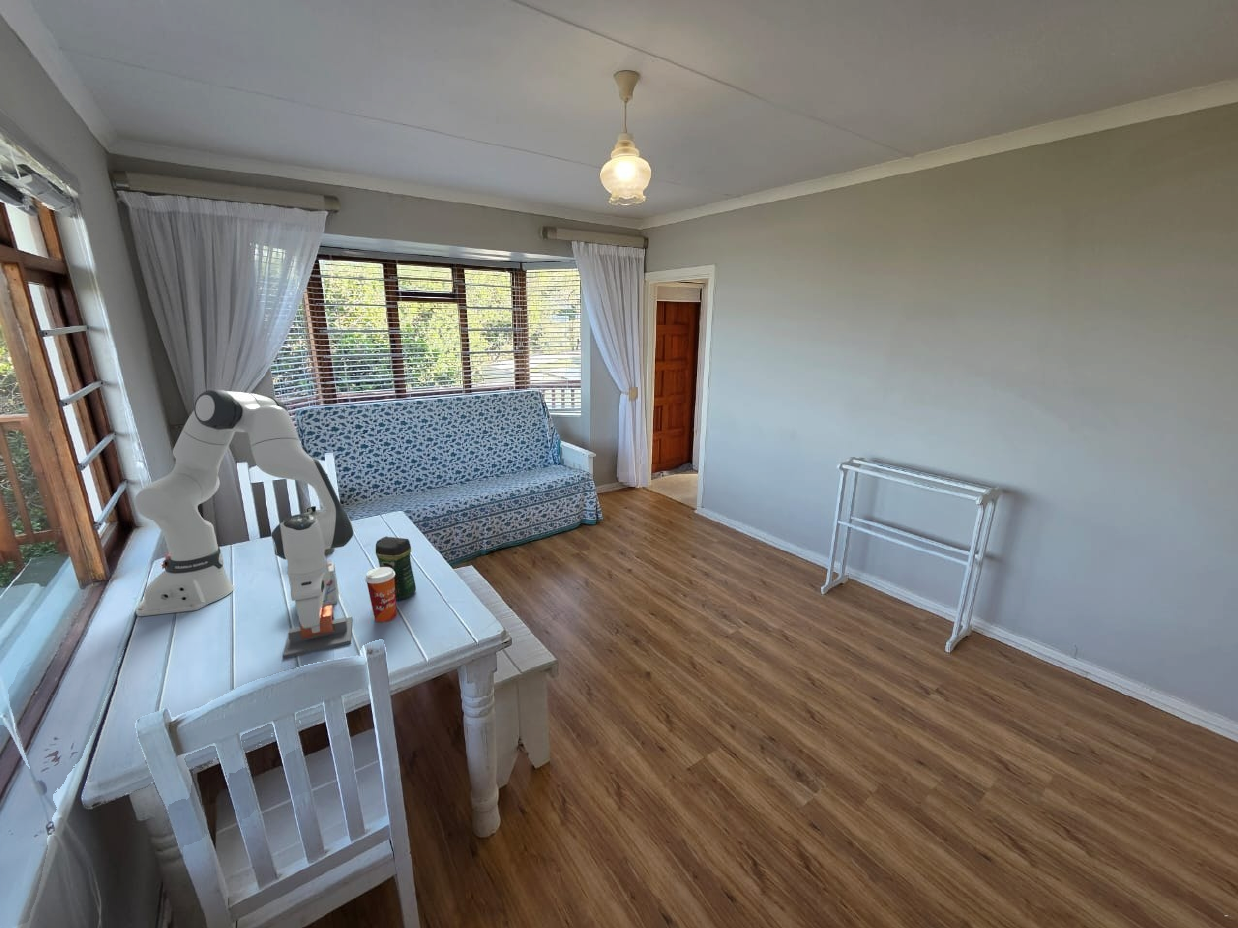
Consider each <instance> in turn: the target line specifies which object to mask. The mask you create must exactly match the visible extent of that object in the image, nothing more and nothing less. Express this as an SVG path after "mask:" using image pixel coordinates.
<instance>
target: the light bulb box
mask: <svg viewBox="0 0 1238 928" xmlns="http://www.w3.org/2000/svg"><path fill="white" fill-rule="evenodd" d="M328 568H329V574H330V581H329V582H328V583H327V584H326V586H325V588H326V590H325V596H324V601H323V607H325V606H330V605H335V604H336V605H337V604H338V603H339V595H340V592H339V587H338V586H339V585H338V579H337V573H336V571H337V570H336V567H335V562H334V561H333V562H329V563H328Z"/></svg>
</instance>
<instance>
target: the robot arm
mask: <svg viewBox="0 0 1238 928" xmlns="http://www.w3.org/2000/svg"><path fill="white" fill-rule="evenodd" d="M193 406H194V408H193V411H192V412H191V414H190V415H189V417H188V418H187V420H186V422H185V424H184V426H183V427H182V430H181V432H180V434H179V437H178V438H177V440H176V443H175V445H174V447H173V449H172V455H173V457H174V459H175V464H174V467H173V470H172V471H171V472H170V473H169V474H168V475H166V476H164V477H161V478H159V479H156V480H155V481H152V482H150V483H148V484H147V485H146V486H145V487H143V488H142V489H141V490H140V491H139V492H138V493H137V494H136V495H135V497H134V507H135V509H136V511H137V513H138V514H139V515H141V516H142V517H144V518H146V519H148V520H150V521H152V522H154V523H155V524H156V526H158V528H159V529H160V531H161V533H162V534H163V536H164V540H165V542H166V546H167V550H168V554H167V555H166V556H165V559H164V560H163V561H162V564H161V568H162V569H163V571H162V572H161V573H160V574H159V575H157V577H154V579H153V580H152V581H151V582H150V583H149V584H147V586H146V589H145V590H144V595H143V596H144V597H143V599H142V600H141V601H140V602H139V603H138V604H137V606H136V609H135V614H136V616H137V617H144V616H146V617H147V616H154V615H163V614H172V613H182V612H190V611H197V610H200V609H202V608H204V607H205V606H207V605H209V604H211V603H214V602H216V601H220V600H221V599H223V598H225V597H226V596H228V595H230V593H231V594H232V592H233V591H234V589H235V587H234V585H233V584H232V582H231V580H230V579H229V577H228V575H227V572H226V570H225V567H224V559H223V558H224V557H223V553H222V551H221V548H220V547H219V546H218V542H217V536H216V532H215V528H214V525H213V523H211V522H210V521H208V520H206V519H204V518H203V517H202V516H201V513H200V512H199V509H198V507H199V505H200V504H203V503H204V502H206V501H207V500H210V498H212V497H213V496H214V494H215V493H216V492H217V491H218V490H219V488H220V485H221V481H220V478H219V470H220V466H221V463H222V461H223V458H224V457H225V455H226V453H227V450H228V449H229V446H230V444H231V442H232V440H233V437H234V436H235V433H236V432H237V433H247V435H248V439H249V444H250V449H251V453H252V456H253V459H254V462H255V464H256V466H257V467H258V469H259V470H260V471H262V472H263V473H265V474H266V475H267V474H268V475H269V476H272V477H275V478H279V479H285V480H294V481H299V482H303V483H306V484H308V485H309V486H310V487H312V488H313V489H314V491H315V494H316V495H317V497H318V500H319V502H320V503H321V507H322V508H323V510H324V511H325V513H324V514H321V515H316V516H313V515H310V514H303V513H300V514H299V513H298V514H295V515H291V516H288V517H287V518H286V519H284V520H283V522H281V523H280V522H279V523H278V525H276V526H275V527H274V529H273V531H272V532H271V537H272V538H271V539H272V540H273V543H274V555H276V556H277V557H279V558H281V559H283V560H286V562H287V570H286V572H287V577H288V581H289V586H290V587H289V588H290V599H291V601H293V602H294V603H295V604H294V605H295V610H296V613H297V616H298V621H299V620H300V623H301V626H302V627H303V628H304V629H307V628H311V629H312V633H317V632H320V618H321V613H322V607H324V606H323V601H324V596H325V590H326V588H325V586H326V584H327V583H328V582H329V581H330V574H329V568H328V560H327V558H326V556H325V554H324V552H325V550H326V549H333V548H335V549H338V548H343V547H345V546H346V545H347V544H348V543H349V542H350V541H351V540H352V538H354V537H353V536H354V526H353V524H352V521H351V518H349V516H348V514H347V513H346V511H345V509H344V508H343V505H342V503H341V502H340V499H339V498H338V497H339V496H338V495H337V493H336V491H335V489H334V486H333V484H332V483H331V480H330V479H329V477H328V475H327V473H326V471H325V469H324V467H323V465H322V464H321V462H320V461H319V460H318V459H317V458H315V457H311V456H310V455H309V454H307V452H306V451H305V450H304V448H303V447H302V445H301V442H300V438H299V435H298V432H297V429H296V427H295V423H294V421H293V420H292V417H291V416H290V413H289V411H288V408H287V406H286V405H285V403H284V402H283V401H281V400H279V399H278V398H274V397H271V396H266V395H261V394H257V393H253V392H247V391H244V392H242V391H231V390H229V391H228V390H224V389H210V390H209V389H208V390H205V391H203V392H202V393H200V394H199V395H198V397H197V398H196V400H195V402H194V405H193Z"/></svg>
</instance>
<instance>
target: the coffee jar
mask: <svg viewBox="0 0 1238 928" xmlns="http://www.w3.org/2000/svg"><path fill="white" fill-rule="evenodd" d="M411 552H412V546H411V541H410V539H409V538H402V537H392V536H387V535H386V536H384V537H382V538H380V539H379V540H378V539H377V541H376V544H375V555H376V557H377V559H378V565H379V567H389V568H392V569H393V571H394V572H395V576H394V581H395V599H396V600H400V601H401V600H405V599H406V598H410V597H411V596H412V595H413V594H414V593H415V592H416V590H417V587H416V582H415V576H414V572H413V568H412V561H411Z"/></svg>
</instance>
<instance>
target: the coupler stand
mask: <svg viewBox="0 0 1238 928" xmlns="http://www.w3.org/2000/svg"><path fill="white" fill-rule="evenodd" d="M353 622H354V619H353V616H350V617H340V618H334V620H332V623H333V629H334V631H333V632H331V633H327V634H322V635H318V636H313V637H308V638H304V639H302V634H301V629H300V626H296V627H291V628H289V629H288V633H287V639H286V642H285V646H284V649H283V653H282V659H283V660H285V659H289V658H293V657H297V656H301V655H307V654H310V653H317V652H320V651H323V650H329V649H332V648H337V647H342V646H345V645H351V644H352V634H353V633H352V632H353Z"/></svg>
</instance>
